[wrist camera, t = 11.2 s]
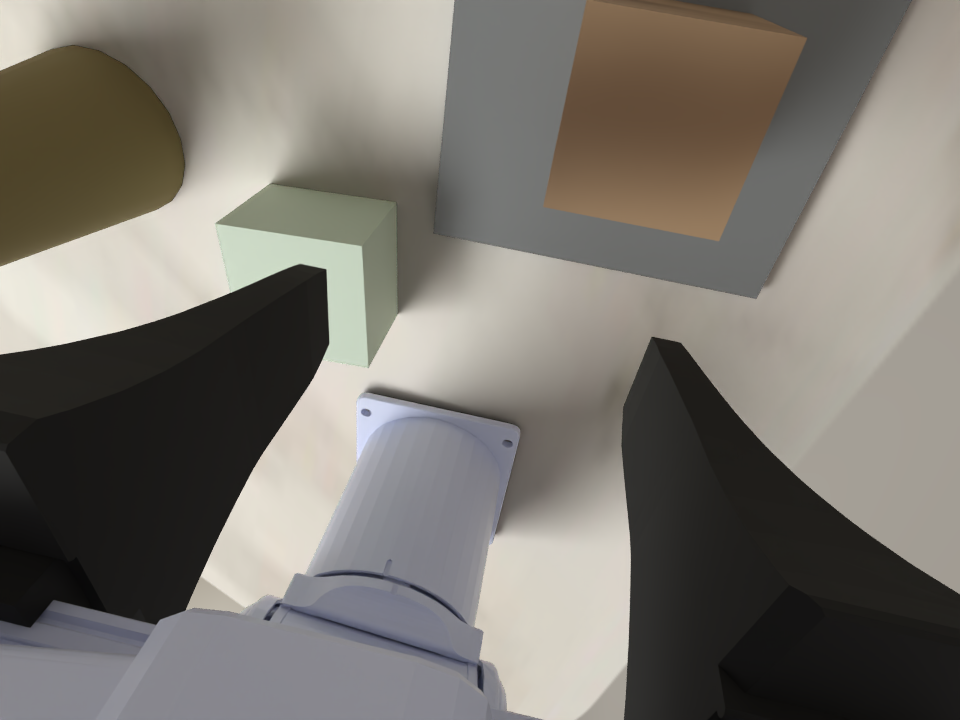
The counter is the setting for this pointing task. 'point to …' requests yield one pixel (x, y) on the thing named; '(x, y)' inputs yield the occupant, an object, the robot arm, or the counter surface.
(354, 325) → the sage block
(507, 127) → the mat
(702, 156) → the walnut block
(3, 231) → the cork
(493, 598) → the counter surface
